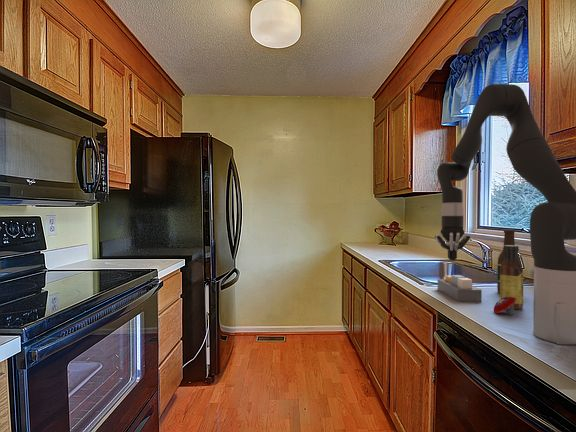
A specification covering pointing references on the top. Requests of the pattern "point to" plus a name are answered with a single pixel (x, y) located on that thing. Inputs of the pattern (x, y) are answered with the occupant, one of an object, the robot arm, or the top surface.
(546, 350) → the top surface
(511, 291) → the sauce bottle
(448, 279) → the ochre key
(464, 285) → the ivory key
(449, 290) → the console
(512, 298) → the button
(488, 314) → the top surface
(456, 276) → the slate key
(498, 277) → the beer bottle
